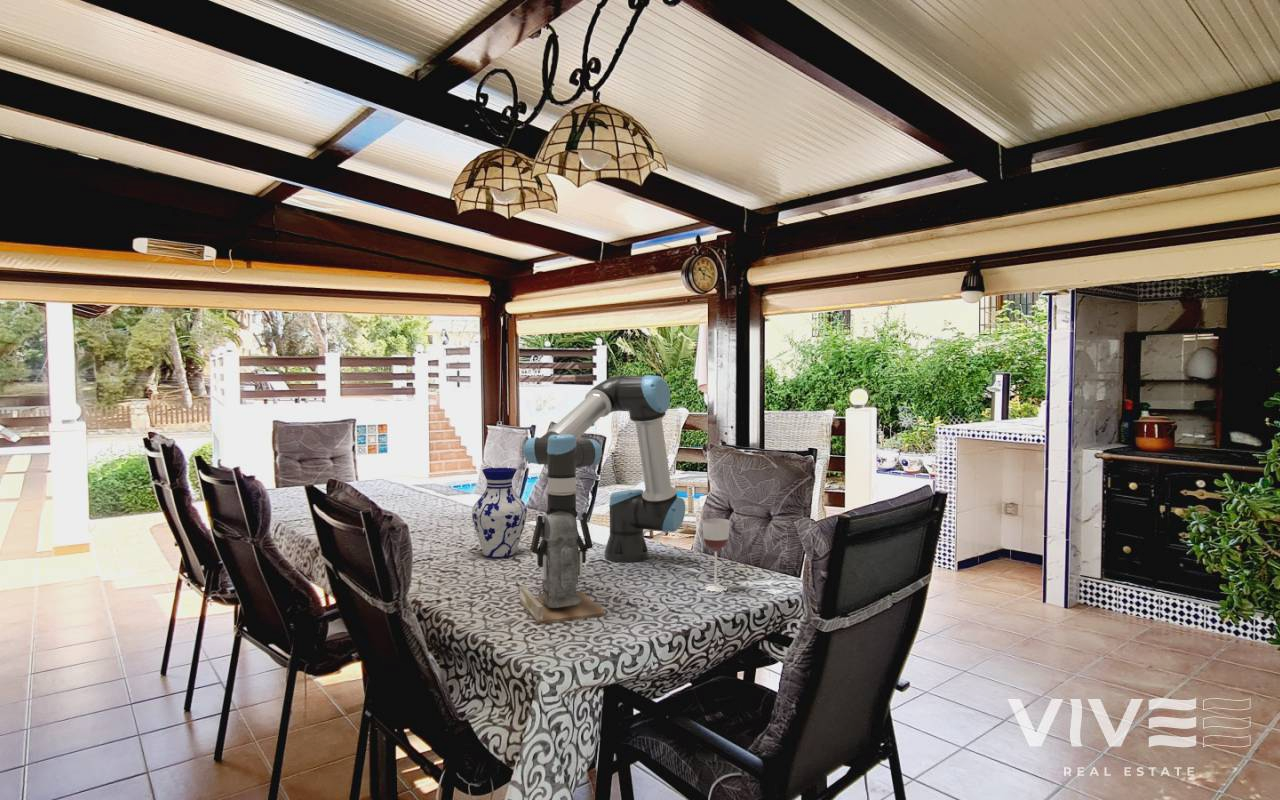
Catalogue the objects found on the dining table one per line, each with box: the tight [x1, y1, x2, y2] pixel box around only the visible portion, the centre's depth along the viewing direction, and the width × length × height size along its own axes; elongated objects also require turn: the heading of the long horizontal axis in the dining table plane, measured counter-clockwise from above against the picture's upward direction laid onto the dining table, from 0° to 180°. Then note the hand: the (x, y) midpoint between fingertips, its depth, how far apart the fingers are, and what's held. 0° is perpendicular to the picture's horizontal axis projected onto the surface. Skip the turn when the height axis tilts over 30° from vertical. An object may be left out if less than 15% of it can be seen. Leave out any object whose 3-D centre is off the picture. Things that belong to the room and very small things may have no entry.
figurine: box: [540, 511, 581, 608], centre depth 192 cm, size 10×14×25 cm
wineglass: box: [701, 517, 730, 593], centre depth 211 cm, size 8×9×20 cm
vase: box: [471, 467, 528, 559], centre depth 253 cm, size 19×19×30 cm
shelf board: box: [519, 585, 607, 625], centre depth 192 cm, size 18×20×4 cm
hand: (561, 576), depth 192 cm, fingers closed on figurine, 9 cm apart
